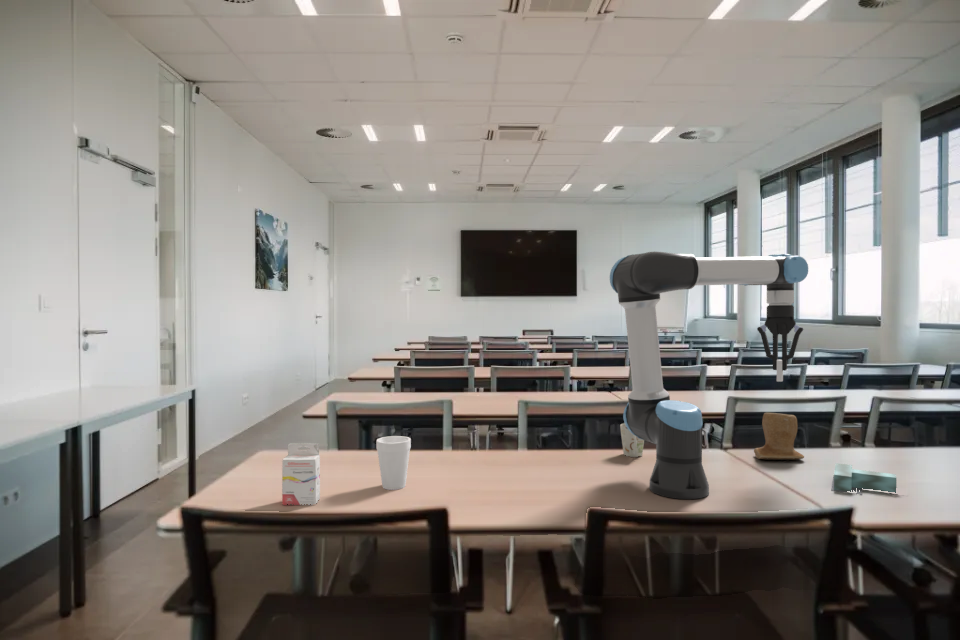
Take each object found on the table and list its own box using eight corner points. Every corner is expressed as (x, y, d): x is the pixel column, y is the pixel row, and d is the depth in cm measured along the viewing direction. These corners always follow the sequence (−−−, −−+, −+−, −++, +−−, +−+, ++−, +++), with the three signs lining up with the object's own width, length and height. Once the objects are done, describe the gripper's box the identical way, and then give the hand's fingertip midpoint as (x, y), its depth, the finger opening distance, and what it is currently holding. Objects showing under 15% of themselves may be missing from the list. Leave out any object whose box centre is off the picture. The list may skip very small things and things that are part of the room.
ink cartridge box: (281, 506, 149) (280, 447, 148) (287, 499, 154) (286, 443, 153) (316, 505, 149) (315, 447, 149) (320, 499, 154) (320, 442, 154)
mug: (643, 452, 202) (643, 423, 202) (650, 461, 190) (650, 430, 190) (618, 451, 203) (618, 422, 203) (623, 461, 191) (623, 430, 190)
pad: (831, 490, 159) (831, 490, 159) (833, 475, 173) (833, 475, 173) (909, 501, 150) (909, 501, 150) (904, 484, 164) (904, 484, 164)
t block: (833, 489, 160) (833, 474, 160) (835, 476, 172) (835, 463, 172) (897, 498, 152) (897, 482, 152) (894, 484, 164) (894, 470, 164)
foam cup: (378, 492, 159) (378, 444, 159) (375, 483, 168) (374, 437, 168) (413, 489, 162) (413, 442, 161) (408, 480, 170) (408, 435, 170)
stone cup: (790, 454, 199) (791, 409, 199) (809, 463, 187) (809, 415, 187) (744, 453, 200) (745, 409, 199) (760, 462, 188) (760, 415, 188)
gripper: (805, 304, 183) (804, 381, 183) (758, 304, 190) (758, 378, 190) (803, 304, 176) (802, 383, 177) (755, 304, 183) (755, 381, 184)
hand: (779, 380), depth 184 cm, fingers closed
